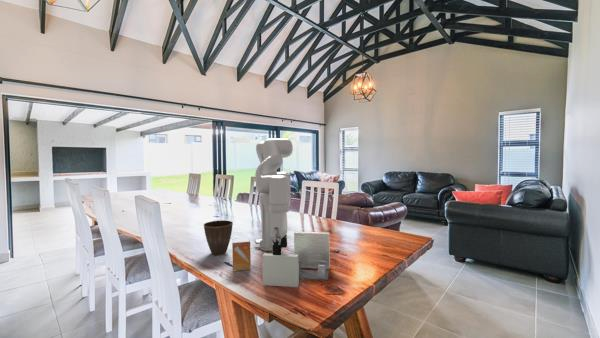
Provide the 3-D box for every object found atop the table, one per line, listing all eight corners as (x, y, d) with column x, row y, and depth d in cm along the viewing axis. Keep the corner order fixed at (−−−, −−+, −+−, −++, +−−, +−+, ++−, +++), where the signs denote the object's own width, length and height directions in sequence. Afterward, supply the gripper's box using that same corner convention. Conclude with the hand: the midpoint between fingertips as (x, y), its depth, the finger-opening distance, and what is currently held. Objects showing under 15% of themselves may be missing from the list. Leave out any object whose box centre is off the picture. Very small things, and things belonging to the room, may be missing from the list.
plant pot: (237, 249, 157) (237, 220, 156) (226, 258, 142) (225, 227, 141) (212, 248, 159) (212, 220, 159) (199, 257, 145) (198, 226, 144)
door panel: (263, 285, 112) (262, 255, 111) (264, 282, 114) (264, 253, 114) (297, 287, 109) (297, 256, 109) (298, 284, 112) (298, 254, 111)
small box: (232, 271, 125) (231, 242, 125) (232, 266, 132) (232, 238, 131) (251, 269, 127) (250, 241, 127) (250, 264, 133) (249, 237, 133)
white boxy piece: (289, 278, 117) (288, 240, 117) (295, 265, 131) (294, 231, 130) (327, 280, 114) (326, 241, 114) (329, 267, 128) (329, 232, 128)
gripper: (275, 204, 120) (276, 244, 120) (263, 211, 102) (264, 258, 103) (293, 204, 118) (293, 245, 119) (283, 211, 101) (284, 258, 101)
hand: (280, 251), depth 111 cm, fingers open, 9 cm apart
